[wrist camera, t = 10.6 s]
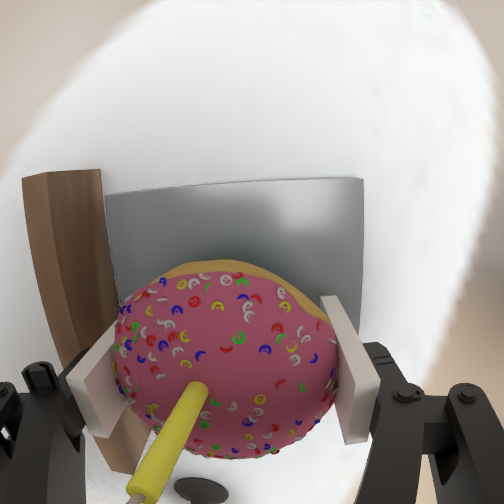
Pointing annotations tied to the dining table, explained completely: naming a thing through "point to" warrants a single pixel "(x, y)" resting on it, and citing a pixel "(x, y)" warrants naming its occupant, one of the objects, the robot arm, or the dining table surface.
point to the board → (246, 233)
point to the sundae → (201, 491)
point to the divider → (78, 283)
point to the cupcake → (221, 366)
